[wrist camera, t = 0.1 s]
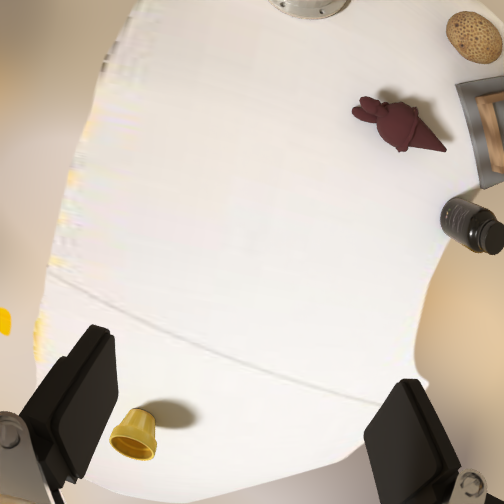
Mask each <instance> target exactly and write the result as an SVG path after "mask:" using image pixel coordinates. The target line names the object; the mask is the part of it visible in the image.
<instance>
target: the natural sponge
mask: <svg viewBox="0 0 504 504" xmlns="http://www.w3.org/2000/svg"><path fill="white" fill-rule="evenodd" d="M446 34H447V37H448V39H449V41H450V42H451V44H452V45H453V46H454V47H455V48H456V50H457V51H458V52H459V53H460V54H461V55H462V56H463V57H464V58H466V59H467V60H470V61H472V62H475V63H479V64H489V63H491V62H493V61H495V60H496V59H497V58H498V57H499V56H500V54H501V52H502V38H501V36H500V34H499V32H498V30H497V29H496V27H495V26H494V25H493V24H492V23H491V22H490V21H488V20H487V19H485V18H484V17H482V16H481V15H479V14H477V13H475V12H468V11H462V12H459V13H456V14H455V15H453V16H452V17H451V18H450V19H449V21H448V23H447V27H446Z"/></svg>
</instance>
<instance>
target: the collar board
mask: <svg viewBox="0 0 504 504" xmlns="http://www.w3.org/2000/svg"><path fill="white" fill-rule="evenodd" d="M455 86H456V89H457V92H458V95H459V98H460V101H461V104H462V108H463V111H464V114H465V118H466V122H467V125H468V129H469V133H470V137H471V141H472V146H473V150H474V155H475V159H476V164H477V170H478V175H479V181H480V187H481V188H482V189H487V188H489V187H492V186H494V185H496V184H498V183H501V182H503V181H504V76H502V77H496V78H490V79H484V80H478V81H472V82H467V83H462V84H457V85H455Z"/></svg>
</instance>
